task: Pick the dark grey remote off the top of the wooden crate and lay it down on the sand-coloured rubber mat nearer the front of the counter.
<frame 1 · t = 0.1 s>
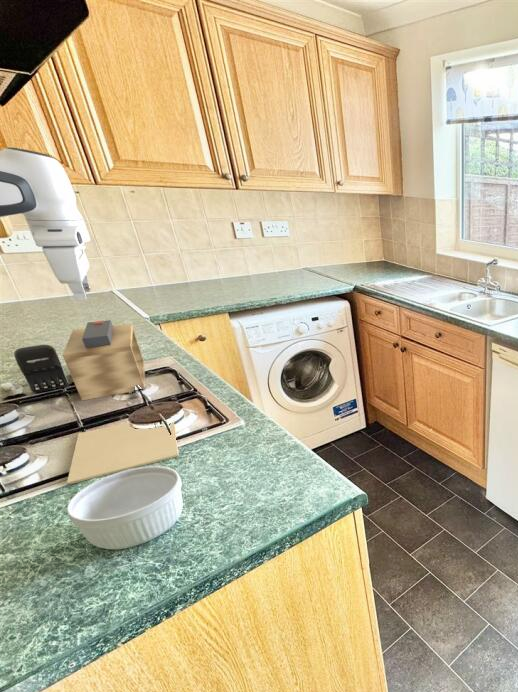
hand: (84, 295, 98), 24 cm above the counter, tool pointing down, fingers open, 8 cm apart
wooden crate: (116, 380, 113), on the counter
mat: (127, 445, 86), on the counter
ramekin: (140, 525, 68), on the counter
battery charger: (51, 390, 106), on the counter
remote: (100, 337, 108), point 12 cm above the counter, touching wooden crate
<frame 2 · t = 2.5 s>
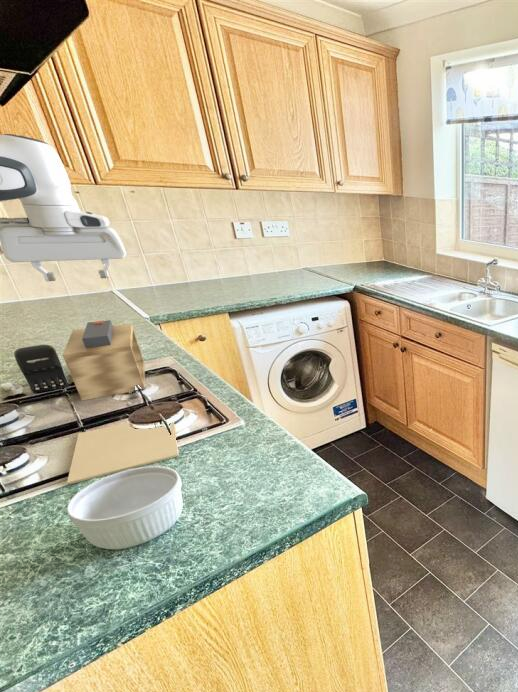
hand: (78, 279, 101), 27 cm above the counter, tool pointing down, fingers open, 8 cm apart
nothing on the counter moved.
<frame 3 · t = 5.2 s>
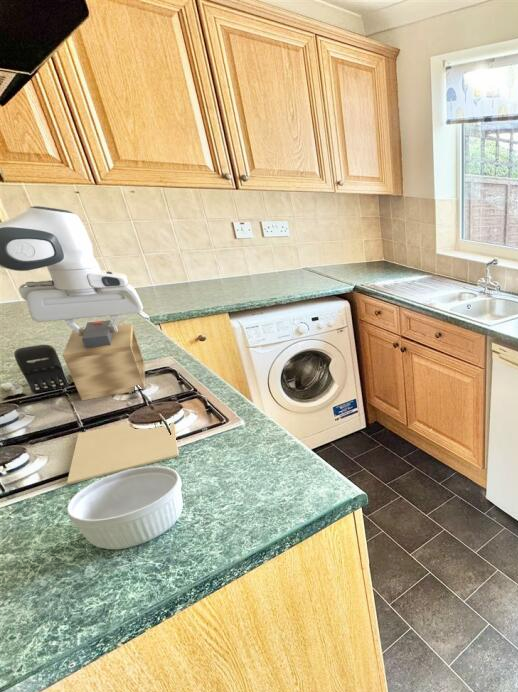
hand: (98, 333, 107), 13 cm above the counter, tool pointing down, fingers closed on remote, 4 cm apart
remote: (100, 337, 108), point 12 cm above the counter, touching gripper, wooden crate
everything else where it was.
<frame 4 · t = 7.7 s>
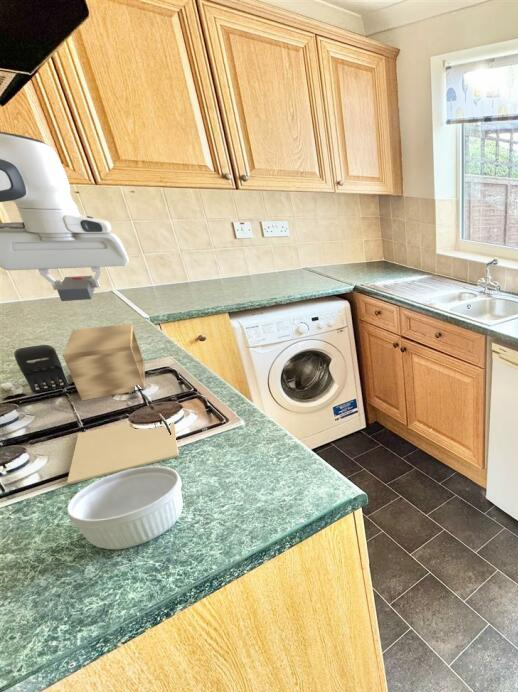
hand: (78, 288, 94), 27 cm above the counter, tool pointing down, fingers closed on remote, 4 cm apart
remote: (79, 293, 95), point 26 cm above the counter, touching gripper
everything else where it was.
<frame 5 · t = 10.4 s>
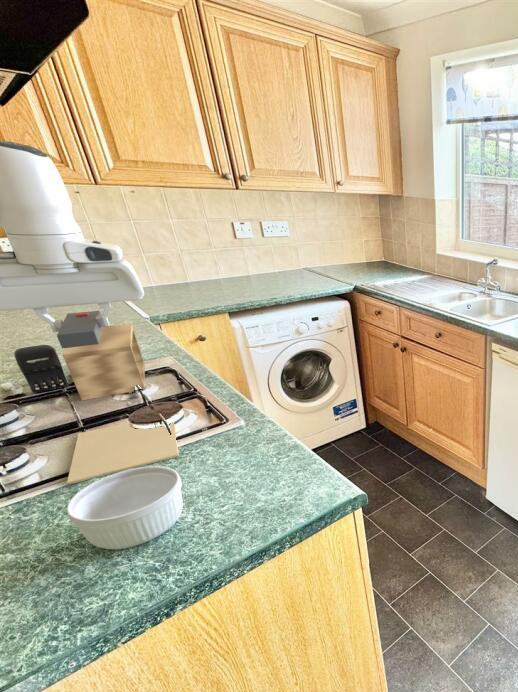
hand: (82, 328, 77), 25 cm above the counter, tool pointing down, fingers closed on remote, 4 cm apart
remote: (84, 334, 77), point 24 cm above the counter, touching gripper
everything else where it was.
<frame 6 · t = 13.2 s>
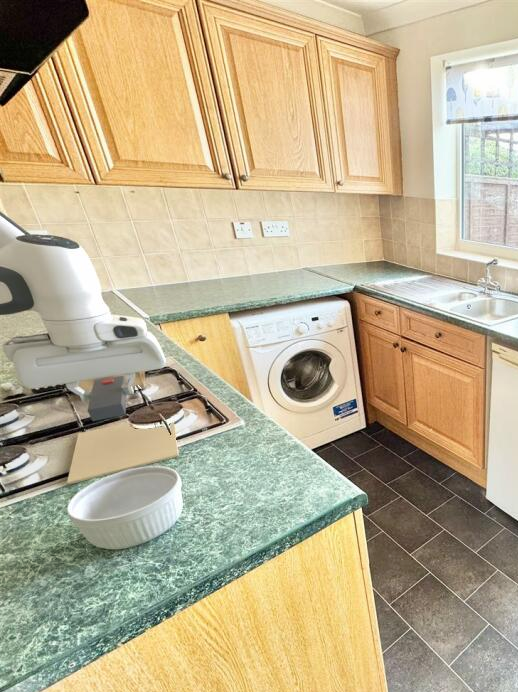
hand: (109, 397, 82), 11 cm above the counter, tool pointing down, fingers closed on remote, 4 cm apart
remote: (111, 402, 82), point 10 cm above the counter, touching gripper
everything else where it was.
when the fingers open (1 cm above the counter, at t = 15.7 s): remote stays where it is, resting on mat.
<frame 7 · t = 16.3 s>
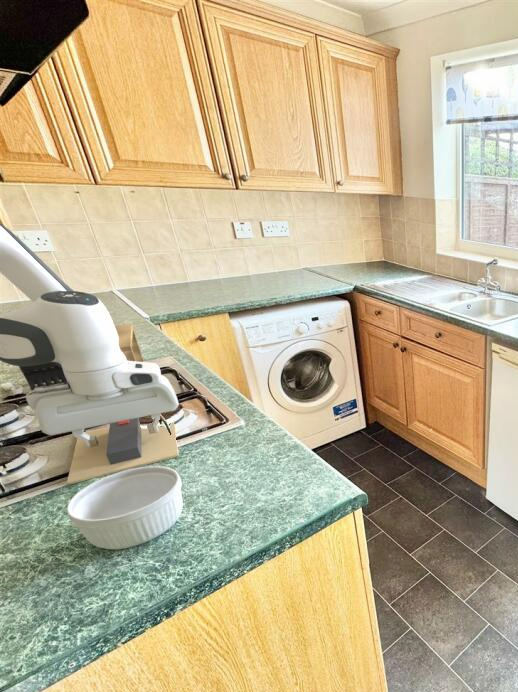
hand: (124, 438, 86), 2 cm above the counter, tool pointing down, fingers open, 8 cm apart
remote: (127, 443, 86), resting on mat
everything else where it was.
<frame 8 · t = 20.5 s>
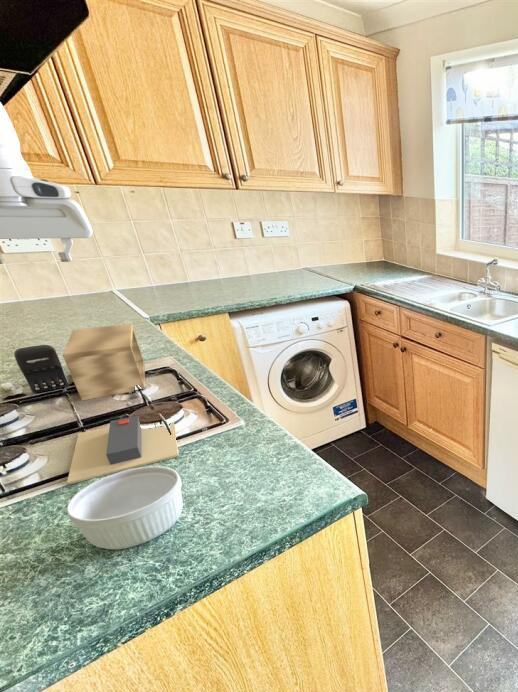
hand: (33, 262, 83), 34 cm above the counter, tool pointing down, fingers open, 8 cm apart
nothing on the counter moved.
at the end: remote inside the target area on the mat (0.0 cm from its centre), point 0.5 cm above the mat's base; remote tilted 0°; the gripper is holding nothing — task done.
